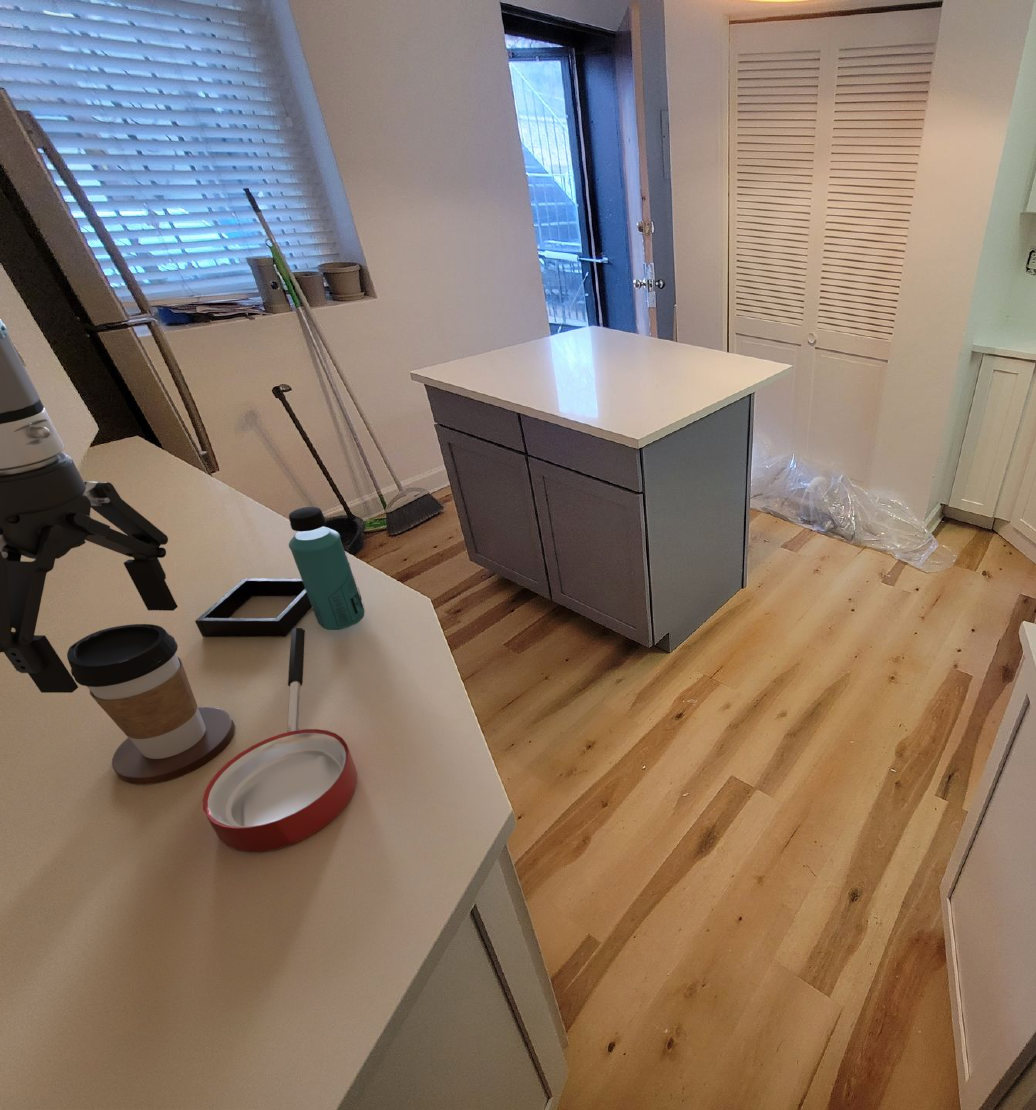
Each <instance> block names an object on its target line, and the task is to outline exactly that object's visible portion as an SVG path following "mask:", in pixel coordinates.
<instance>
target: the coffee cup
mask: <svg viewBox="0 0 1036 1110" xmlns="http://www.w3.org/2000/svg"><path fill="white" fill-rule="evenodd" d="M178 648H179V645H178V643H177V641H176V640H175V637H174V636H173V635H171V634H169V633H168V632H167V630H166V629H164V628H163V627H162V626H161V625H158V624H151V623H135V624H124V625H117V626H111V627H108V628H104V629H100V630H98V631H94V632H92V633H89V634H88V635H86V636H84V637H83V638H81V639H79V640H78V641H76V642H75V643H73V644H72V645H70V647H68V650H67V652H66V658H67V661H68V664H69V666H70V668H71V669H70V672H71V673H70V674H71V676H72V678H73V679H74V681H75V682H76V684H78V685H80V686H84V687H87V689H88V690H89V695H90V696H91V697H92V699H93V700H94V701H95V702H96V703H97V704H98V705H99V706H100V708H101V709H102V710H103V711H104V712H105V713H106V714H107V716H108V717H109V718H110V719H111V720H112V721H113V722H114V723H115V724H116V726H117V727H118V728H119V729H120V730H121V731H122V733H123V734H124V735H125V737H127V738H128V737H129V738H130V740H131V741H132V742H133V743H134V744H135V746H136V747H137V748H138V749H139V751H140V752H141V753H142V754H143V755H144V756H145V757H147V758H151V759H162V758H167V757H171V756H174V755H177V754H179V753H182V752H184V751H186V750H188V749H189V748H191V747H192V746H194V745H195V744H196V743H197V742H199V741H200V740H201V738H202V737H203V736H204V734H205V731H206V727H205V724H204V722H203V719H202V717H201V714H200V712H199V709H198V703H197V701H196V698H195V695H194V692H193V690H192V686H191V684H190V681H189V678H188V676H187V673H186V669H185V667H184V664H183V661H182V659H181V658H180V657H179V656H178V655H177V652H178Z"/></svg>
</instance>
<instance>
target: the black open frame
mask: <svg viewBox="0 0 1036 1110" xmlns="http://www.w3.org/2000/svg"><path fill="white" fill-rule="evenodd" d="M304 589H305V587H304V584H303V581H302V582H301V578H255V577H253V578H243V579H242V580H240V582H238V583H237V584H236V585H235V586H234V587H232V588H231V589H230V590H229V591H228V592H226V594H224V595H223V596H222V597H221V598H220V599H218V600H217V601H216V602H215V603H214V604H213V605H212V606H210V607H209V608H208V609H207V610H206V611H205V612H204V613H202V614H201V615H200V616H199V617H198V618H196V619H195V620H194V623H195V625H196V626H197V628H198V630H199V633H200V634H201V637H202V638H285V637H287V636H288V635H289V634H290V633H291V632H292V630H293V629H294V628H296V626H297V625H298V623H300V622H301V620H302V619H303V618H304V617H305V616H306V615H307V614H308V613H309V611H311V610H312V609H313V608H312V607H311V603H310V602H309V601H310V600H308V595H307V593H306V590H304ZM252 597H295V598H294V599H293V600H292V601H291V603H289V604H288V605H287V606H286V607H285V608H284V610H282V611H281V612H280V614H278V616H277V617H232V616H233V615H234V614H235V613H236V612H237V611H238V610H239V609H241V607H243V605H245V604H246V603H247V602H248V601H249V600H250V599H251V598H252ZM311 608H312V609H311Z"/></svg>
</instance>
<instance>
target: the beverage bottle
mask: <svg viewBox="0 0 1036 1110" xmlns="http://www.w3.org/2000/svg"><path fill="white" fill-rule="evenodd" d="M288 519H289V523H290V529H291V530H293V531H294V532H296V533H295V534H294V535H293V536H292V537H291V539H289V542H288V549H290V551H291V555H292V557H293V559H294V563H295V565H296V567H297V570H298V572H299V575H300V579H301V582H302V581H303V584H304V587H305V589H304V590H306V593H307V595H308V600H310V601H309V602H310V603H311V607H312V608H311V609H310V610H312V611H313V616H314V617H315V619H316V622H317V624H318V625H320V627H321V628H323V629H325V630H328V631H336V630H337V631H339V630H343V629H347V628H350V627H352V626H354V625H357V624H358V623H360V621H362V620H363V619H364V617H365V609H366V608H365V605H364V603H363V599H362V595H361V592H360V588H359V587H358V585H357V582H356V578H355V576H354V574H353V571H352V568H351V564H350V561H349V559H348V555H347V553H346V550H345V548H344V545H343V542H342V540H341V534H340V533H339V532H338V531H336V530H335V529H333V528H330V527H327V526H325V525H326V524H327V519H326V517H325V515H324V514H323V510H322V509H321V508H320V507H316V506H305V507H299V508H297V509H295V510H292V511H291V512H290V513H289V514H288Z"/></svg>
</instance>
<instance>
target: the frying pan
mask: <svg viewBox="0 0 1036 1110" xmlns="http://www.w3.org/2000/svg"><path fill="white" fill-rule="evenodd" d="M305 637H306V630H305V629H304V628H302V627H294V628H293V629H292V630H291V631H290V644H289V645H290V646H289V659H288V660H289V662H288V675H287V686H288V687H289V695H288V710H287V711H288V712H287V728H286V732H284V733H283V732H282V733H280V734H277V735H274V736H272V737H268V738H266V739H264V740H262V741H260V742H257V743H255V744H253V745H251V746H250V747H248V748H246V749H245V750H243V751H241V752H240V753H238V754H237V755H235V756H234V757H232V758H231V759H230V760H229V761H228V762H227V763H225V764H224V765H223V766H222V767H221V768H220V769H219V770H218V771H217V772H216V773H215V775H214V776H213V777H212V779H210V781H209V783H208V784H207V786H206V787H205V790H204V793H203V797H202V799H201V800H202V801H201V802H202V810H203V813H204V815H205V817H206V819H207V820H208V822H209V823H210V825H211V827H212V828H213V830H214V832H215V833H216V835H217V836H218V838H219V840H220V841H221V842H222V843H223V844H224V845H226V846H227V847H229V848H231V849H234V850H237V851H240V852H246V853H260V852H261V853H263V852H269V851H273V850H278V849H283V848H284V847H285V848H286V847H288V846H290V845H294V844H296V843H299V842H300V841H303V840H304V839H307V838H308V837H310V836H312V835H313V834H315V833H317V832H318V831H320V830H321V829H322V828H324V827H325V826H327V825H328V824H330V823H331V822H332V821H333V820H334V819H335V818H336V817H338V815H339V814H340V813H341V812H342V811H343V810H344V808H346V806H347V804H348V803H349V802H350V801H351V798H352V797H353V795H354V793H355V790H356V787H357V784H358V771H357V767H356V765H355V762H354V759H353V757H352V754H351V752H350V749H349V747H348V744H347V742H346V741H345V740H344V738H343V737H341V735H338V734H337V733H335V732H332V731H330V730H327V729H320V728H319V729H318V728H310V729H309V728H304V729H299V718H300V701H301V687H302V686H303V683H304V663H305V639H306V638H305Z"/></svg>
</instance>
